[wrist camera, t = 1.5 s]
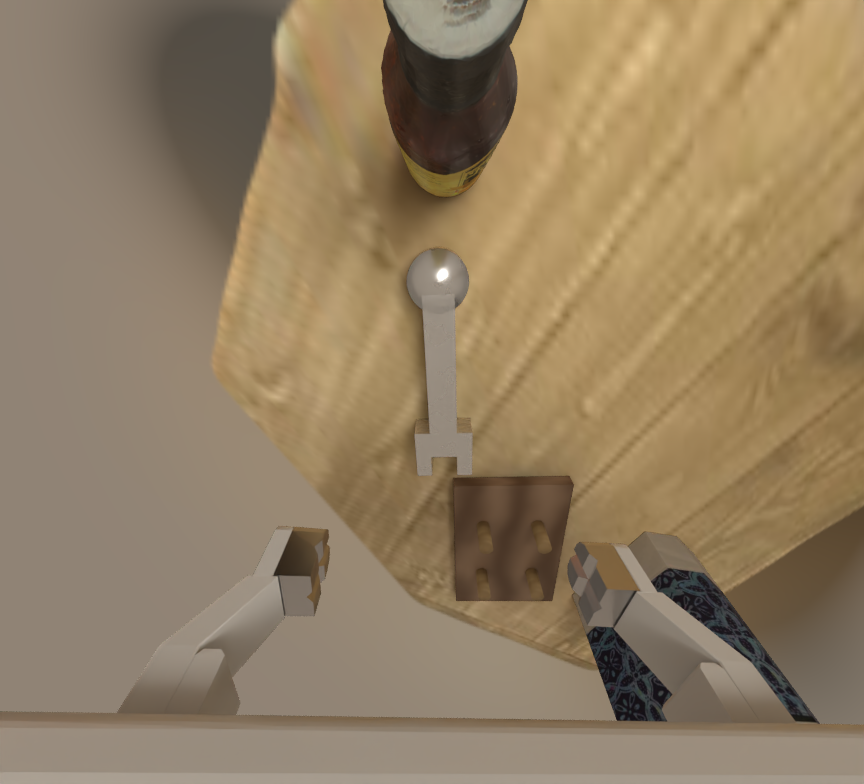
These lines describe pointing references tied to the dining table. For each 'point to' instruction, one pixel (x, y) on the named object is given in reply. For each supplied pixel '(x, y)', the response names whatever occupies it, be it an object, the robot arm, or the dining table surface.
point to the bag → (701, 597)
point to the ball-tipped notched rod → (440, 358)
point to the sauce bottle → (449, 85)
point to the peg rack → (509, 536)
